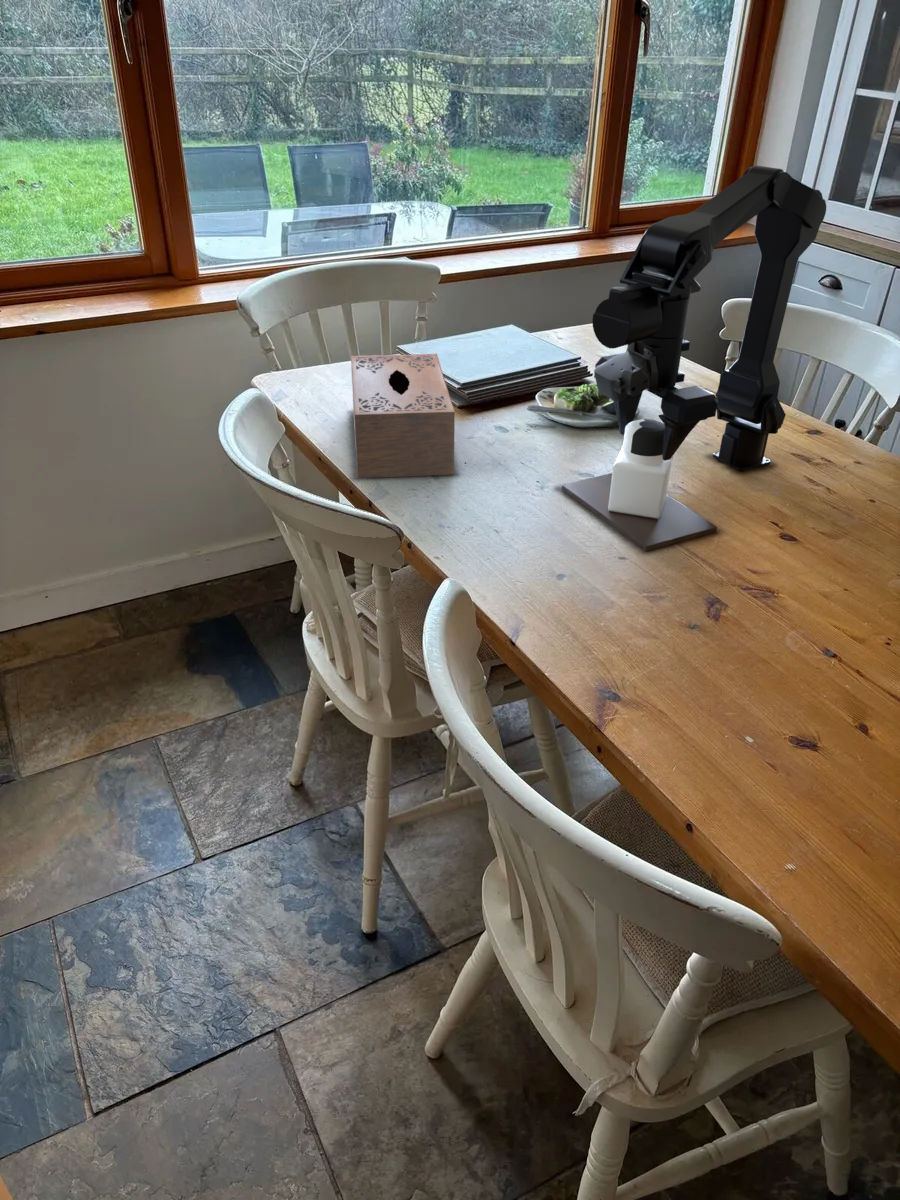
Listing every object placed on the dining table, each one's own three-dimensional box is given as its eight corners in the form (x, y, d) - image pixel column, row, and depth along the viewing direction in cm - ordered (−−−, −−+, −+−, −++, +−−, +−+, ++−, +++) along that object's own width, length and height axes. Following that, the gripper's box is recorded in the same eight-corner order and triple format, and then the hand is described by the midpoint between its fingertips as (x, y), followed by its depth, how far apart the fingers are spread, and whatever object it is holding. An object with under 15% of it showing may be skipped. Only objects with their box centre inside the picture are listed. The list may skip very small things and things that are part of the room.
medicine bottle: (666, 497, 130) (679, 418, 123) (659, 520, 124) (672, 438, 117) (616, 489, 132) (626, 411, 125) (607, 511, 126) (617, 430, 119)
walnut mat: (627, 474, 138) (628, 469, 137) (716, 531, 123) (717, 526, 123) (561, 489, 133) (561, 484, 133) (645, 551, 118) (646, 546, 118)
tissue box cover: (353, 412, 157) (350, 355, 151) (436, 410, 158) (436, 353, 153) (357, 478, 135) (354, 414, 130) (453, 474, 137) (454, 411, 131)
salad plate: (537, 436, 149) (539, 409, 147) (513, 397, 164) (515, 372, 161) (649, 430, 152) (653, 404, 149) (616, 392, 167) (619, 367, 164)
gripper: (566, 320, 118) (557, 432, 127) (656, 363, 104) (639, 486, 113) (635, 309, 122) (621, 419, 131) (730, 350, 109) (708, 469, 117)
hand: (644, 446), depth 123 cm, fingers open, 9 cm apart
